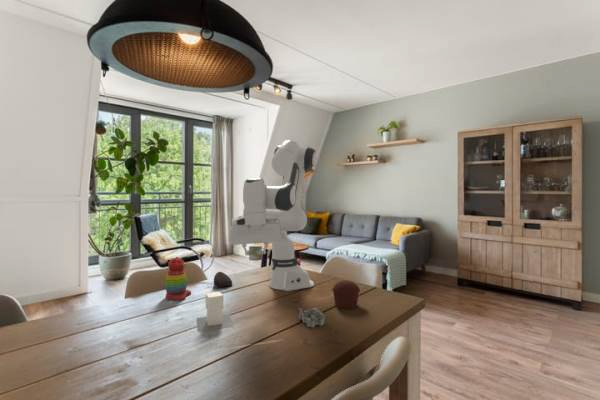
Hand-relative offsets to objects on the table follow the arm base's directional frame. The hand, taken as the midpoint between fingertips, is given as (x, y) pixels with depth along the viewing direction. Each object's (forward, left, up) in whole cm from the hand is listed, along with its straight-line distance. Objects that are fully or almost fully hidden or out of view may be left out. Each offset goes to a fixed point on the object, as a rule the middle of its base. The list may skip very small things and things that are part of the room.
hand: (255, 254), depth 124 cm
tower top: (+16, +6, -17) cm, 24 cm away
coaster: (+16, +6, -23) cm, 28 cm away
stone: (+9, -40, -23) cm, 47 cm away
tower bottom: (+16, +6, -22) cm, 28 cm away
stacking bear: (+30, -30, -23) cm, 48 cm away
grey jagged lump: (-18, +15, -23) cm, 33 cm away
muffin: (-37, +5, -23) cm, 44 cm away
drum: (0, 0, -2) cm, 2 cm away
